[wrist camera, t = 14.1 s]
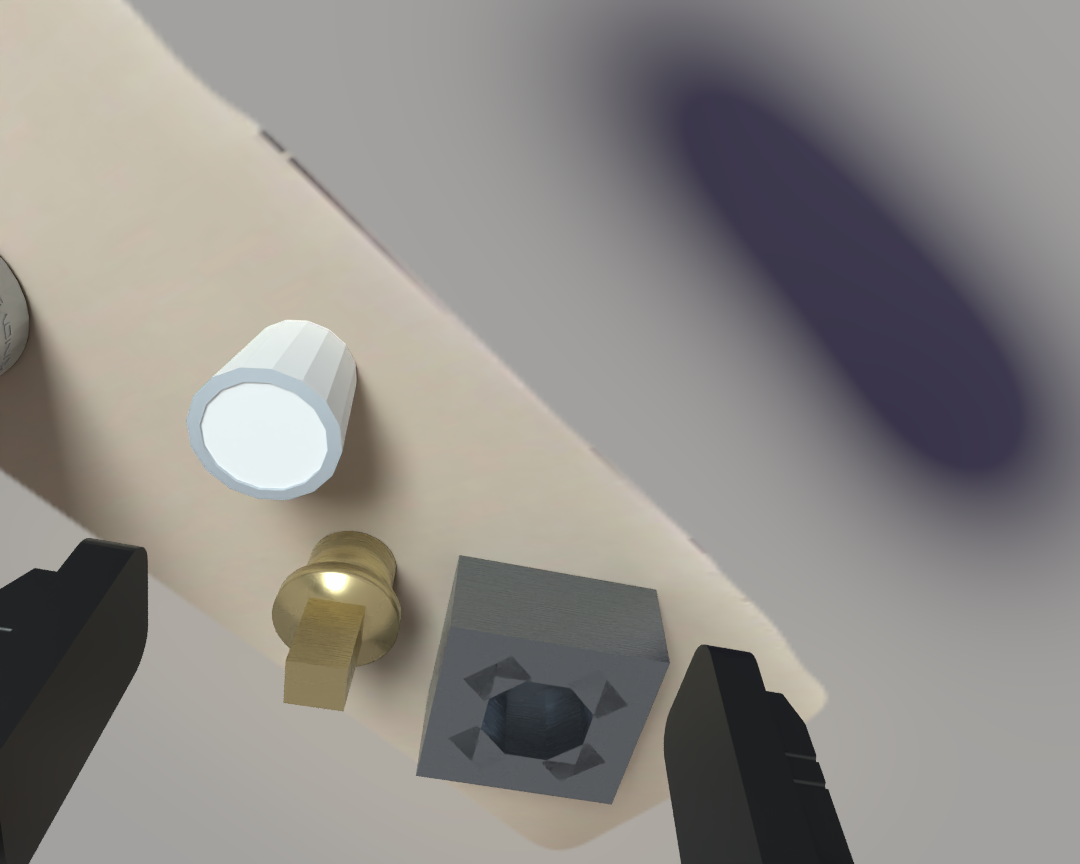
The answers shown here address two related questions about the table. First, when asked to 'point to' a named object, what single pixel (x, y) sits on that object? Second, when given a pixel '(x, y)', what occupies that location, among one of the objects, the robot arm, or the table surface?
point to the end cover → (336, 617)
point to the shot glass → (276, 412)
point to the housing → (541, 681)
